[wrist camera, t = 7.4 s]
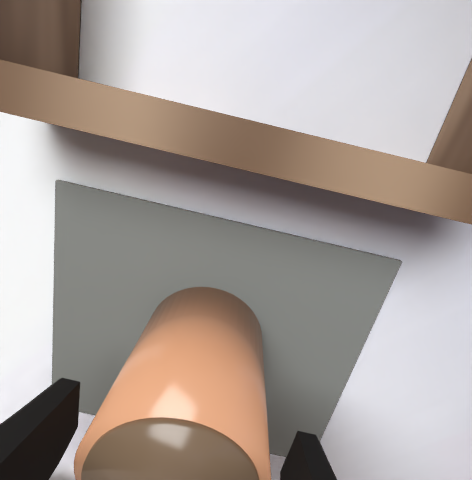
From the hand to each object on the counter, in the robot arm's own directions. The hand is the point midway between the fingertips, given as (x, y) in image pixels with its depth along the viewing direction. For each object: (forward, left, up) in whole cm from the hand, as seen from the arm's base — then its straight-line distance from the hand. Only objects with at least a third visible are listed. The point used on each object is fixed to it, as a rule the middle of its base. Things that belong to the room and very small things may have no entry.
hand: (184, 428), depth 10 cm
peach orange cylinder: (0, 0, -4) cm, 4 cm away
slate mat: (0, 0, -4) cm, 4 cm away
